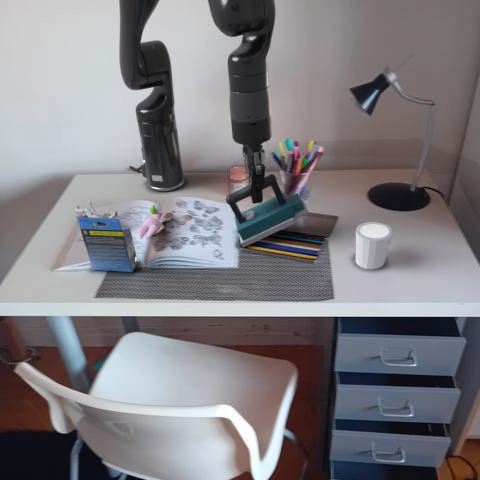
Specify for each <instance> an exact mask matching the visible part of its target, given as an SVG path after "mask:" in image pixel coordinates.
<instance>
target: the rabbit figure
mask: <svg viewBox="0 0 480 480" xmlns="http://www.w3.org/2000/svg"><path fill="white" fill-rule="evenodd" d="M164 212H165V211H162V210H161V211H160V210H158V208H156V205H155V204H153V205H152V206H151V208H150V214H151V217H148V218H146V219H147V220H144V221H143V223H142V225H143V226H142V225H141V226H140V227H138V229H137V234H138V238H139V239H140V240H142V239H143V238H144V236H145V235H146V239H147V240H149V239H150V238H151V237H152V235H154V236H155V235H156V234H155V233H156V232H157V231H158V230H159V229H160V227H161V224H163V223H161V222H160V221H159V220H160V218H161V216H162V214H163V213H164ZM152 217H153V218H152ZM146 232H147V233H146Z"/></svg>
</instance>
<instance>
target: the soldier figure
mask: <svg viewBox="0 0 480 480" xmlns="http://www.w3.org/2000/svg"><path fill="white" fill-rule="evenodd" d="M87 204H88V206H89V208H88V207H84V208H80V205H78V204H76V205H75V211H74V214H76V215H77V214H82V217H91V218H112V219H116V218H117V217H118V218H119V214H118V211H117V210H115V211H114V212H113V214H112V213H110V212H106V211H97V210H96V209H95V208H94V206H93V203H92V201H91V200H87Z"/></svg>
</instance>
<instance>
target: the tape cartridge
mask: <svg viewBox="0 0 480 480" xmlns="http://www.w3.org/2000/svg"><path fill="white" fill-rule="evenodd" d="M76 220H77V222H78V227H79V229H80V230H79V231H80V233H81V236H82V239H83V242H84V246H85V249H86V252H87V255H88V259H89V263H90V266H91V269H92V271H105V272H106V271H107V272H119V273H120V272H122V273H133V272H134V271H135V269H136V267H137V266H138V263H139V262H138V260H137V261H136V262H135V257H137V252H136V247H135V244H134V238H133V235H132V231H131V228H130V227H122V224H121V221H120V219H119V218H118V219H112V218H91V217H88V216H85V217H83V216H76ZM97 222H100V223H99V224H105V225H94V224H98V223H97Z"/></svg>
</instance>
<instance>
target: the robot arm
mask: <svg viewBox="0 0 480 480" xmlns="http://www.w3.org/2000/svg"><path fill="white" fill-rule="evenodd" d="M159 2H160V0H118V6H119V39H118V40H119V42H118V43H119V44H118V59H119V60H118V61H119V62H118V63H119V71H120V75H121V78H122V81H123V84H124V85H125V86H126V87H127V89H128V90H130V91H143V90H147V89H151V88H152V91H151V92H150V93H149V94H148V95H147V96H146V97H145V98H144V99H143V100H142V101H140V102H139V103H138V104H137V105H136V106H135V110H134V111H135V116H136V122H137V127H138V132H139V137H140V143H141V148H140V149H141V155H142V161H143V164H141V165H140V166H139V167H137V168H136V167H134V166H132V165H129V169H130V170H132V171H134V172H140V171H141V173H142V177H144V178H146V182H147V184H148V188H149V189H150V190H152V191H155V192H170V191H174V190H177V189H180V188H181V187H183V186H184V184H185V177H184V171H183V163H182V154H181V148H180V142H179V133H178V127H177V119H176V112H175V111H176V110H175V103H176V102H175V93H174V81H173V70H172V69H173V68H172V63H171V56H170V54H169V50H168V48H167V45H165V43H164V42H163V41H162V40H159V39H158V40H157V39H155V40H149V41H142V37H143V33H144V31H145V28H146V26H147V24H148V22H149V20H150V18H151V16H152V15H153V13H154V12H155V10H156V8H157V7H158V5H159ZM207 4H208V8H209V12H210V16H211V19H212V21H213V23H214V25H215V27H216V28H217V30H219V31H220V32H221V34H223V35H224V36H226V37H227V38H228V37H229V38H236V37H237V38H238V37H240V36H242V37H241V40H240V41H241V42H240V44H239V46H238V47H237V48H235V49H234V50H233V51H231V52H230V53H229V55H228V56H227V62H226V63H227V76H228V77H227V78H228V87H229V100H228V101H229V103H228V104H229V114H230V124H231V125H230V127H231V136H232V137H231V138H232V140H233V141H234V143H236V144H238V145H242V147H241V151H242V153H241V154H242V157H243V163H244V168H245V172H246V174H247V175H246V178H247V180H248V185H250V186H251V196H250V198H251V202H252V204H253V205H254V204H255V205H256V204H261V203H264V195H263V190H262V187H264V185H265V182H264V180H265V177H266V165H265V159H266V152H265V149H264V147H263V144H264V143H266V142H268V141H270V140H271V139H272V137H273V122H272V121H273V120H272V117H273V116H272V99H271V91H270V83H269V57H270V56H269V55H270V51H271V47H272V46H271V45H272V42H273V41H272V40H273V35H274V28H275V25H276V23H275V22H276V2H275V0H207Z"/></svg>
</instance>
